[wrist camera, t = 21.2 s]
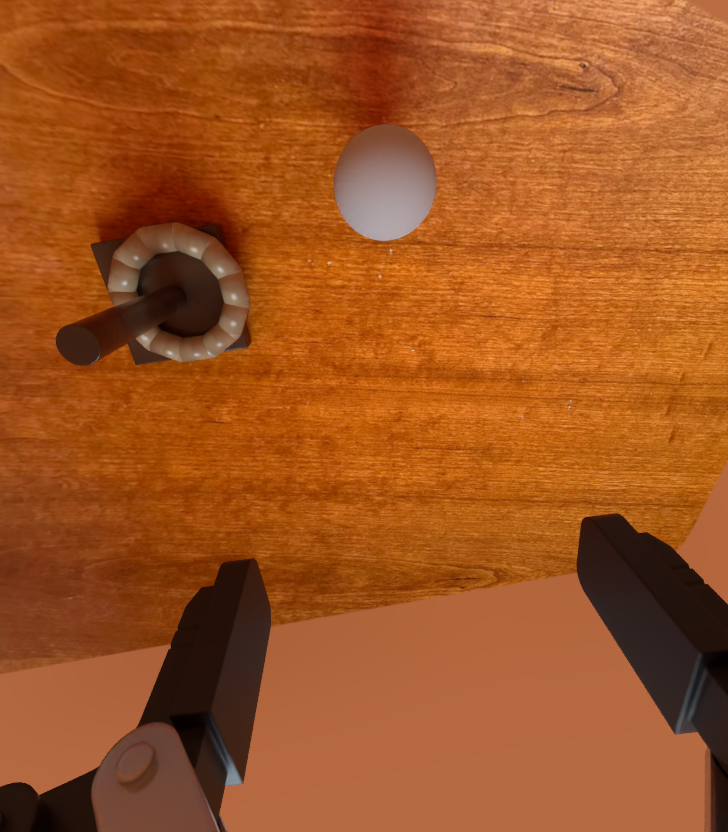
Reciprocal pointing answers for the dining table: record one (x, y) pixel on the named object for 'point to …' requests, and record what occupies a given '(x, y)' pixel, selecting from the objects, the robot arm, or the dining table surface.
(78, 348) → the stand
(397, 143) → the light bulb
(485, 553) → the dining table surface
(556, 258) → the dining table surface
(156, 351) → the beige segmented ring
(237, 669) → the robot arm
